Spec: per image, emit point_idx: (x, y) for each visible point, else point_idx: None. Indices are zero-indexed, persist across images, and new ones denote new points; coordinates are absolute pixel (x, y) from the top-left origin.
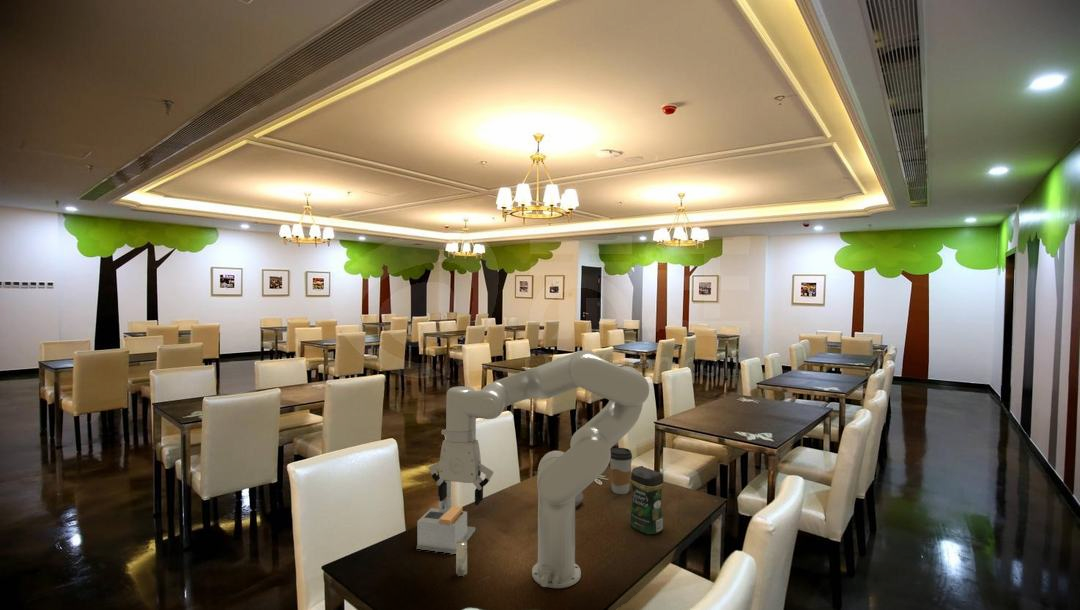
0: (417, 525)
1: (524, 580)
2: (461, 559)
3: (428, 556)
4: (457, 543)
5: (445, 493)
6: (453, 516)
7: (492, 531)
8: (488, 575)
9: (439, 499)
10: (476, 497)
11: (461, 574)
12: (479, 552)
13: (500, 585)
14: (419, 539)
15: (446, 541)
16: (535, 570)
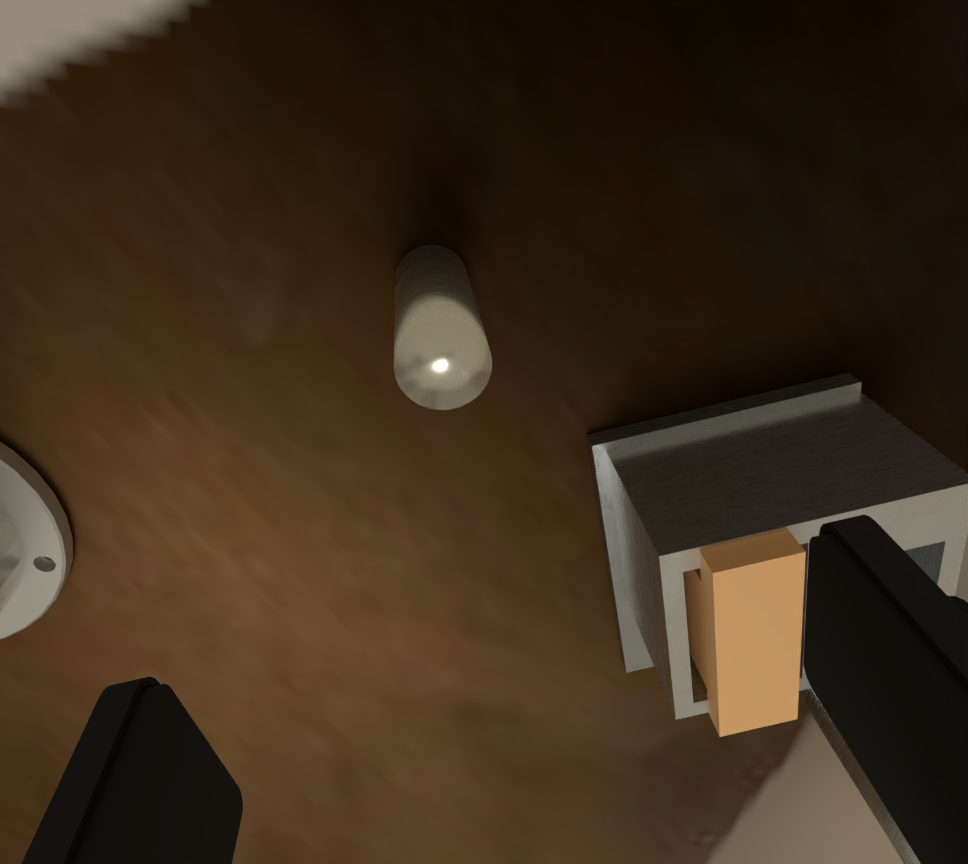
0: (952, 462)
1: (28, 398)
2: (413, 288)
3: (742, 347)
4: (473, 345)
5: (848, 704)
6: (718, 624)
7: (531, 686)
8: (264, 343)
9: (879, 528)
10: (55, 824)
11: (412, 255)
12: (475, 512)
13: (114, 283)
14: (871, 415)
15: (680, 465)
16: (3, 488)
